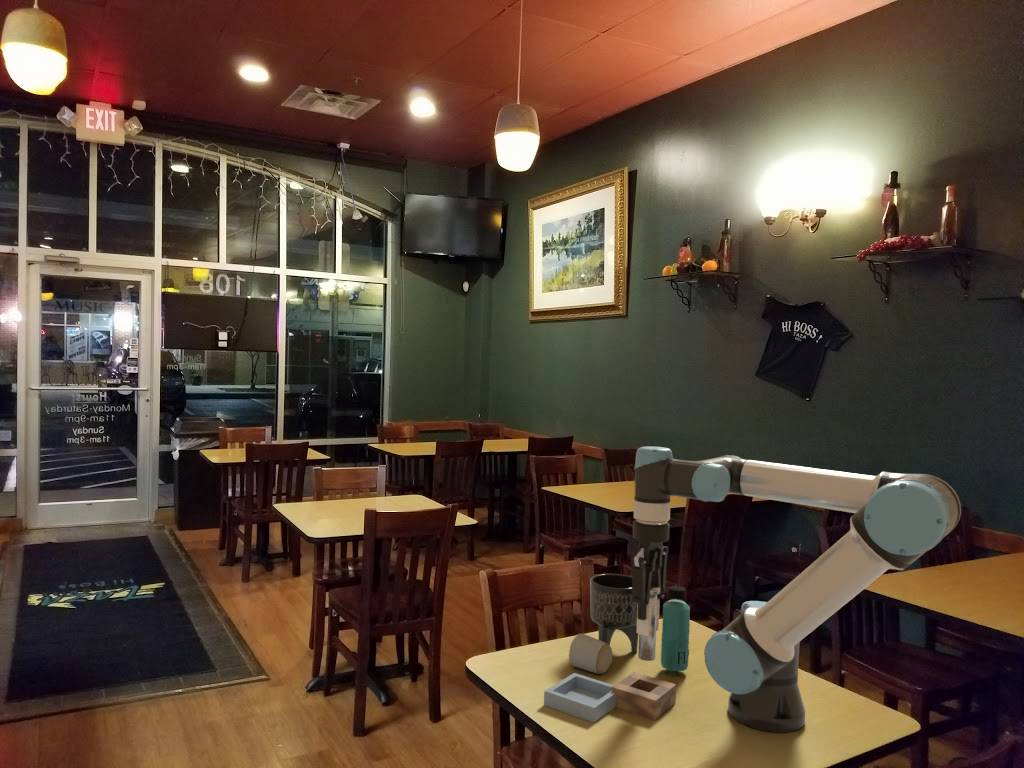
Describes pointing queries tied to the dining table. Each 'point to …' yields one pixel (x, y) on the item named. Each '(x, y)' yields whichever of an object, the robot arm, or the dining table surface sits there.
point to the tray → (581, 697)
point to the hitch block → (644, 695)
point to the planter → (614, 607)
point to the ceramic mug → (590, 654)
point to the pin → (649, 642)
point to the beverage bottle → (675, 631)
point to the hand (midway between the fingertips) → (647, 631)
